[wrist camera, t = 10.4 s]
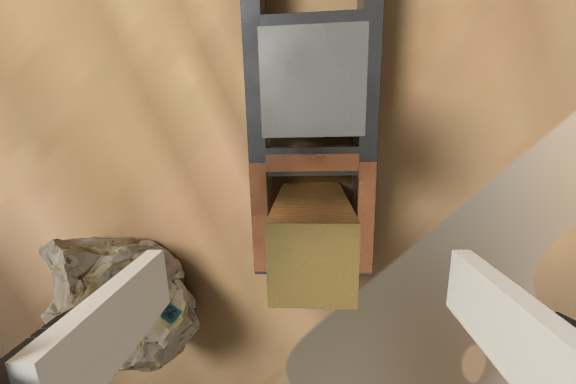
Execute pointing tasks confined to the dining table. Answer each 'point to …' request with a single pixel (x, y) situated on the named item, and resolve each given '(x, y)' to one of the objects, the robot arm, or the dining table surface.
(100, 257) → the rock
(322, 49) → the grey square-ended block
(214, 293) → the dining table surface
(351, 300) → the tan rectangular block
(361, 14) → the grey block rack
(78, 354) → the robot arm
